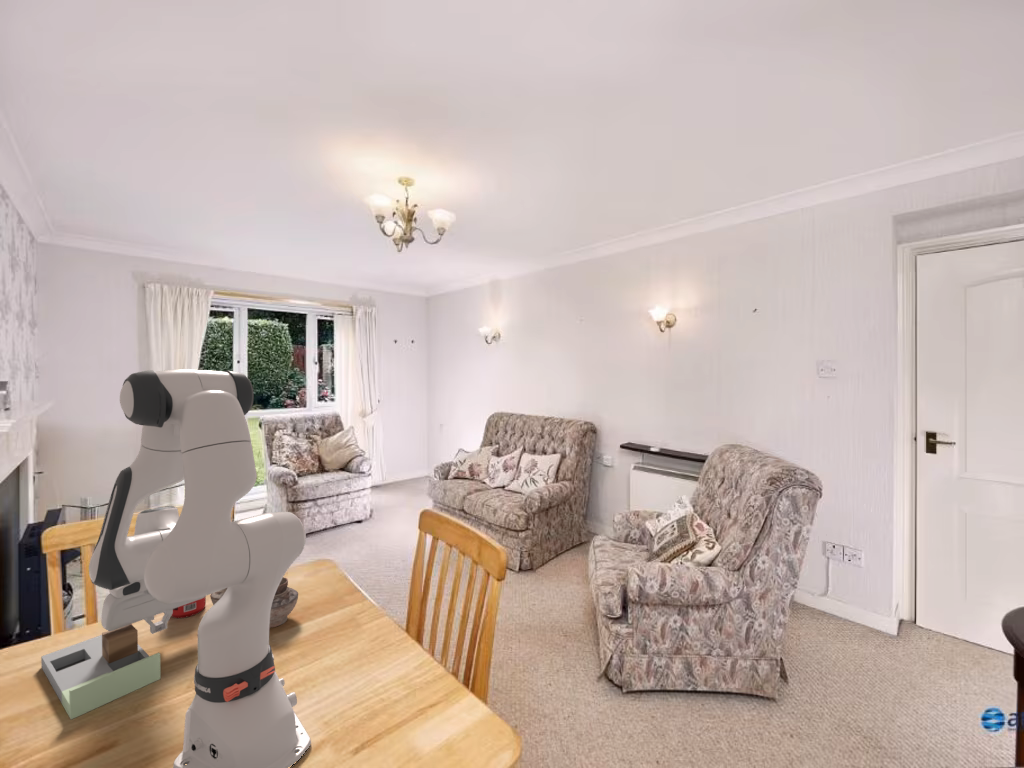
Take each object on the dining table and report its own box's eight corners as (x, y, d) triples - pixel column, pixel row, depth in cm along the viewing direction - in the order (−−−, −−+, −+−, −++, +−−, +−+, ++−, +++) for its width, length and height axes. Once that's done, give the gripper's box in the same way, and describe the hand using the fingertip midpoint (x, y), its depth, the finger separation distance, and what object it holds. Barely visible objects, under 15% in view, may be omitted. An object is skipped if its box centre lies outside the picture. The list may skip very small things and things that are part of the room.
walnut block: (137, 652, 101) (137, 630, 101) (108, 663, 97) (108, 641, 97) (130, 644, 104) (130, 623, 104) (102, 655, 100) (101, 633, 100)
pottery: (234, 601, 129) (234, 560, 129) (307, 614, 123) (307, 571, 123) (198, 622, 118) (197, 577, 118) (276, 637, 112) (275, 590, 112)
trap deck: (160, 678, 96) (160, 653, 96) (70, 719, 85) (70, 691, 85) (122, 637, 111) (121, 615, 111) (41, 667, 100) (41, 643, 100)
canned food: (212, 604, 127) (212, 566, 127) (189, 619, 119) (189, 579, 119) (187, 603, 128) (187, 565, 128) (163, 618, 120) (162, 577, 120)
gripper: (202, 556, 118) (202, 608, 118) (98, 586, 101) (99, 646, 101) (212, 562, 114) (212, 615, 114) (107, 594, 97) (107, 656, 98)
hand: (158, 630), depth 108 cm, fingers closed
